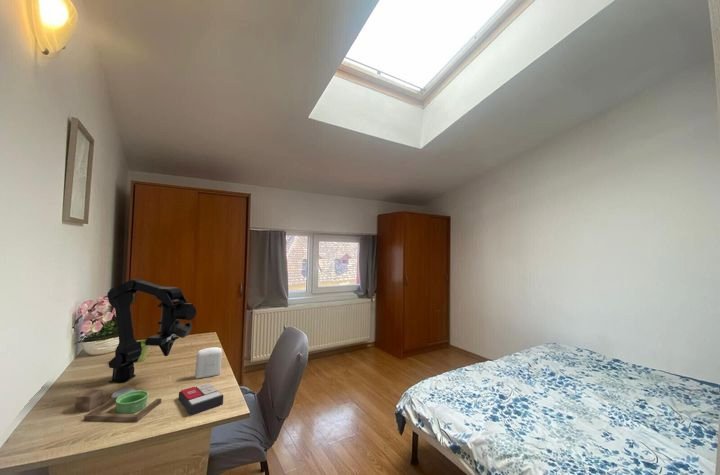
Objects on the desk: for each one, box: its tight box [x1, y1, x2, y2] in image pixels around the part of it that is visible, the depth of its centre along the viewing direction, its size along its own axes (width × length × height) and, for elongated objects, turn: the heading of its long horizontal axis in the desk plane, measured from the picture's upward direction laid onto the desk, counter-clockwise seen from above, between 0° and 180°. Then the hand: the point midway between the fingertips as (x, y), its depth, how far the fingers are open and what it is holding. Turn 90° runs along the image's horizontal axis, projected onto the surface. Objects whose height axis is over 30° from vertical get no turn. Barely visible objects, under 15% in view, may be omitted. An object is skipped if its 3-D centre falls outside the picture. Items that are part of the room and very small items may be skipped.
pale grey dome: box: [110, 387, 136, 399], centre depth 107 cm, size 7×7×1 cm
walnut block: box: [74, 388, 105, 413], centre depth 98 cm, size 5×5×5 cm
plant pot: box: [134, 339, 150, 364], centre depth 138 cm, size 9×9×9 cm
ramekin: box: [115, 389, 149, 414], centre depth 98 cm, size 9×9×4 cm
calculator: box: [178, 382, 224, 417], centre depth 105 cm, size 11×4×15 cm
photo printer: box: [194, 346, 223, 379], centre depth 126 cm, size 10×4×12 cm, turn 123°
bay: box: [83, 397, 162, 423], centre depth 96 cm, size 17×12×2 cm
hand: (166, 355), depth 116 cm, fingers closed
